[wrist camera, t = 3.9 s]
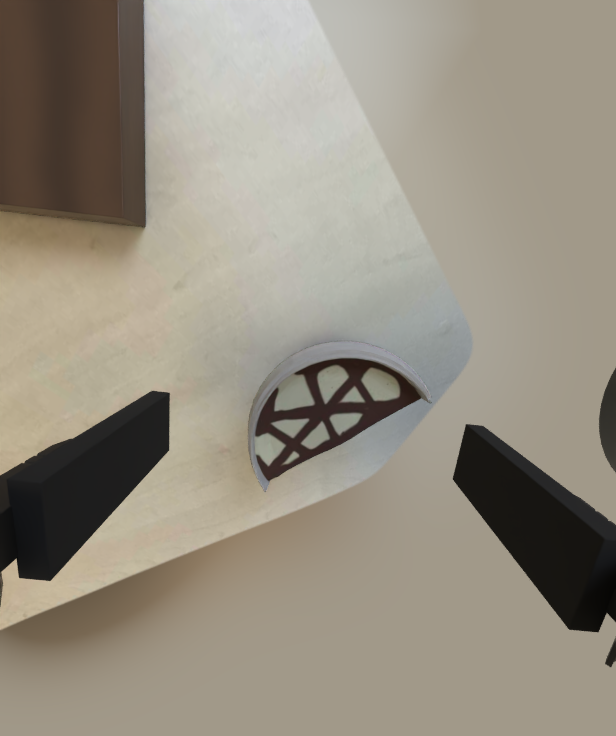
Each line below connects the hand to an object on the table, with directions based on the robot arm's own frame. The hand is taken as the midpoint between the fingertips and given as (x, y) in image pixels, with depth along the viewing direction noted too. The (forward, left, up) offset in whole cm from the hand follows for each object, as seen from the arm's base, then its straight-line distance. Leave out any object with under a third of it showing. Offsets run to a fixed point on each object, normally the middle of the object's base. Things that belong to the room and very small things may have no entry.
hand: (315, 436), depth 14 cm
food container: (0, 0, -14) cm, 14 cm away
